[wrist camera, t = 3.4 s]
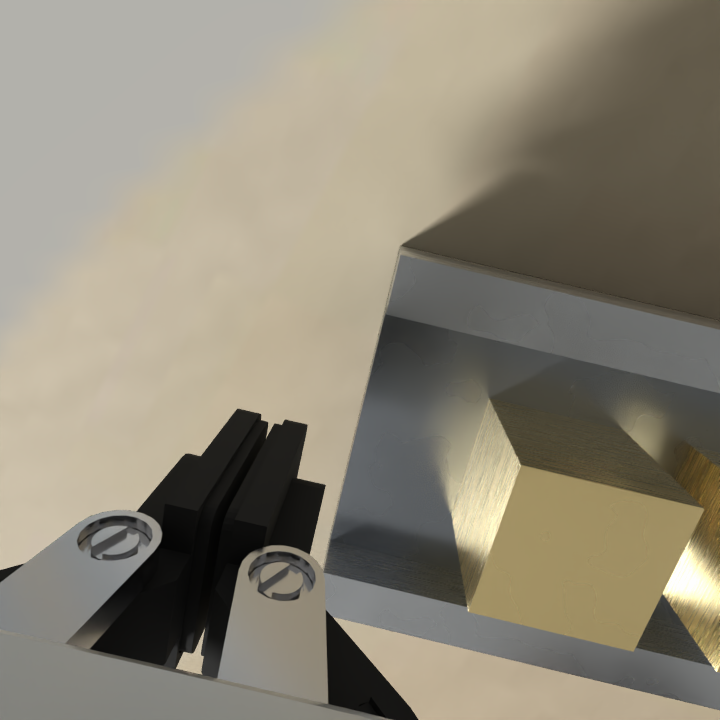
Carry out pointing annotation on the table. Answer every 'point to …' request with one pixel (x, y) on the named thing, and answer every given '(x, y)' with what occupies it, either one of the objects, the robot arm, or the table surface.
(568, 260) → the table surface
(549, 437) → the yellow cube
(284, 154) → the table surface
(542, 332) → the channel plate
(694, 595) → the tan yellow cube
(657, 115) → the table surface
